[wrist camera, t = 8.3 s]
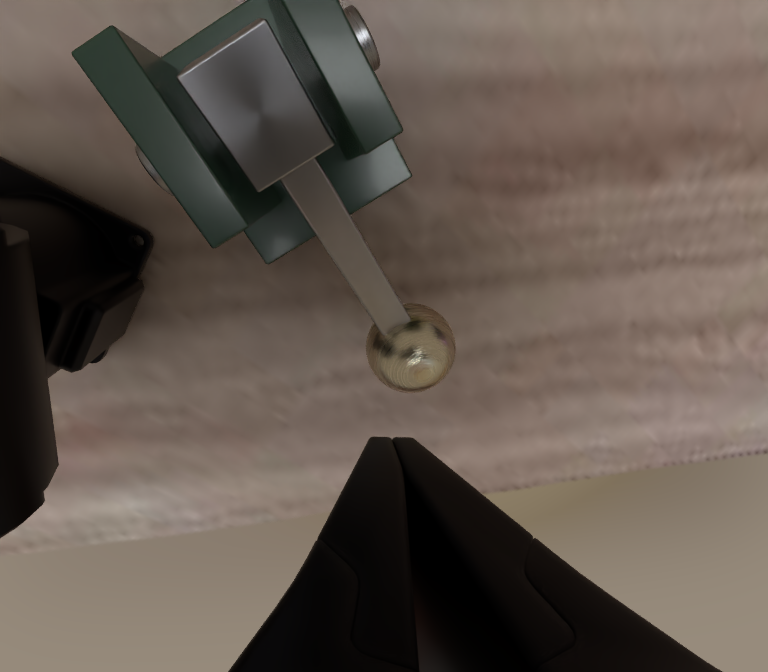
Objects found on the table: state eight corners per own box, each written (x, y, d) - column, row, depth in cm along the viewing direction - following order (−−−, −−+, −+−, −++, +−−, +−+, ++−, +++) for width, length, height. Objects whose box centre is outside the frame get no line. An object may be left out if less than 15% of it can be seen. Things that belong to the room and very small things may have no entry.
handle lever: (448, 331, 19) (482, 380, 16) (380, 370, 19) (403, 425, 16) (276, 5, 11) (288, 2, 9) (169, 76, 12) (151, 93, 9)
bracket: (408, 176, 20) (479, 182, 11) (270, 260, 20) (224, 336, 11) (304, -25, 17) (279, -253, 8) (147, 80, 17) (-51, -19, 8)
